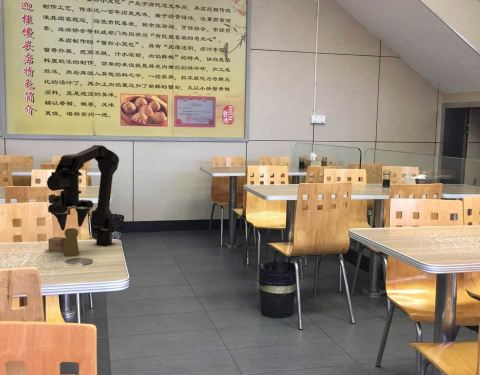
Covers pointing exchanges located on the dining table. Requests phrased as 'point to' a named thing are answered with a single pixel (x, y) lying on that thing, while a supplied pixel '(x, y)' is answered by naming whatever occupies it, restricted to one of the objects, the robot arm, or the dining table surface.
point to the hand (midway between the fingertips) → (71, 228)
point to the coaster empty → (79, 261)
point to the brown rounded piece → (71, 243)
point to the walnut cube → (56, 244)
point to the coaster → (52, 252)
